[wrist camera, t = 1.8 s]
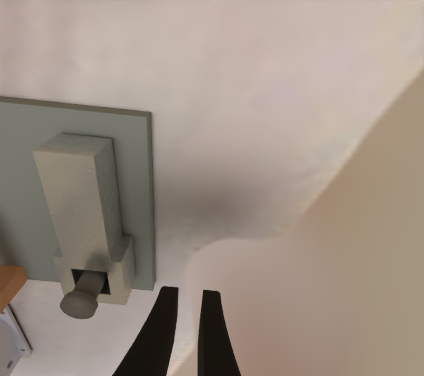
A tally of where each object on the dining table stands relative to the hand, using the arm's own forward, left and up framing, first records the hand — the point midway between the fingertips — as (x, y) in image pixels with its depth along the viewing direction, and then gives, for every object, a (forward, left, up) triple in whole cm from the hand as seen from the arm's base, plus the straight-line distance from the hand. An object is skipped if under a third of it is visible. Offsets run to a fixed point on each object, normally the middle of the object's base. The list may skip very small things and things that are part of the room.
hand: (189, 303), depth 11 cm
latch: (-2, +7, -7) cm, 10 cm away
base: (-2, +10, -8) cm, 13 cm away
